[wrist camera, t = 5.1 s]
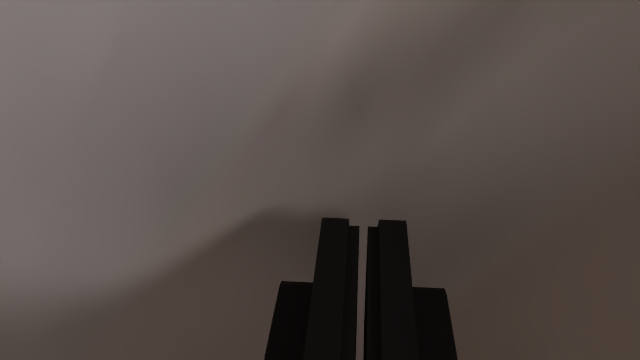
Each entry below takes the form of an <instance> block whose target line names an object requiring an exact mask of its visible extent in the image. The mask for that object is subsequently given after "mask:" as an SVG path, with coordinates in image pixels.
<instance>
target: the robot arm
mask: <svg viewBox="0 0 640 360" xmlns="http://www.w3.org/2000/svg"><path fill="white" fill-rule="evenodd" d="M358 255H359V226H349V219H343V218H322V222H321V229H320V237H319V244H318V251H317V259H316V266H315V274H314V281H313V283H310V282H288V281H282V282H281V284H280V287H279V291H278V296H277V300H276V305H275V310H274V315H273V319H272V324H271V329H270V334H269V338H268V343H267V348H266V353H265V358H264V360H356V330H357V293H358ZM364 360H457V354H456V348H455V342H454V336H453V330H452V324H451V318H450V312H449V306H448V300H447V295H446V291H445V289H444V288H423V287H412V278H411V267H410V257H409V246H408V235H407V224H406V221H401V220H379V222H378V227H368V236H367V263H366V290H365V316H364Z"/></svg>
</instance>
